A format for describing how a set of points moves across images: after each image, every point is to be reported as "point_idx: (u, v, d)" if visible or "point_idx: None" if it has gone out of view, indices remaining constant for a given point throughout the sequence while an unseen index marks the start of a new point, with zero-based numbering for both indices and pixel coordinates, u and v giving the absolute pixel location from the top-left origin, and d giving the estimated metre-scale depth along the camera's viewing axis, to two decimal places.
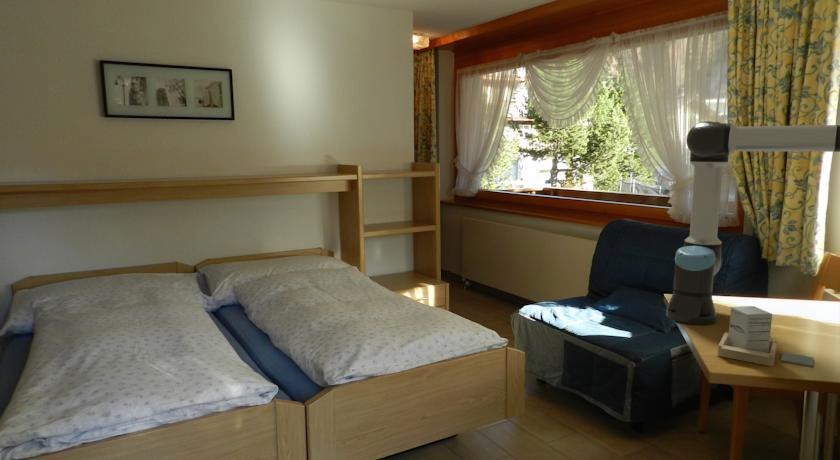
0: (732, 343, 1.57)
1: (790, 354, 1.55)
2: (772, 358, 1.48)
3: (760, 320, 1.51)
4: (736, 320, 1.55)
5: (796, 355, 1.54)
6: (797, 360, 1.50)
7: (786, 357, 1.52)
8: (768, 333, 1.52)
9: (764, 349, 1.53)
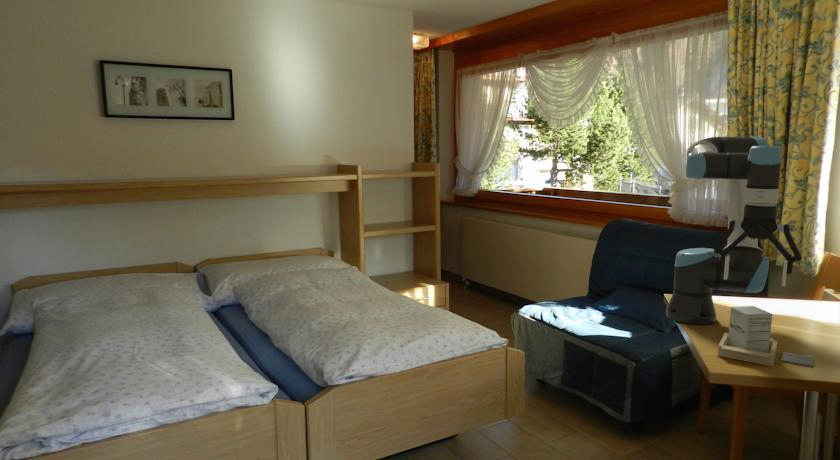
0: (732, 343, 1.57)
1: (790, 354, 1.55)
2: (772, 358, 1.48)
3: (760, 320, 1.51)
4: (736, 320, 1.55)
5: (796, 355, 1.54)
6: (797, 360, 1.50)
7: (786, 357, 1.52)
8: (768, 333, 1.52)
9: (764, 349, 1.53)
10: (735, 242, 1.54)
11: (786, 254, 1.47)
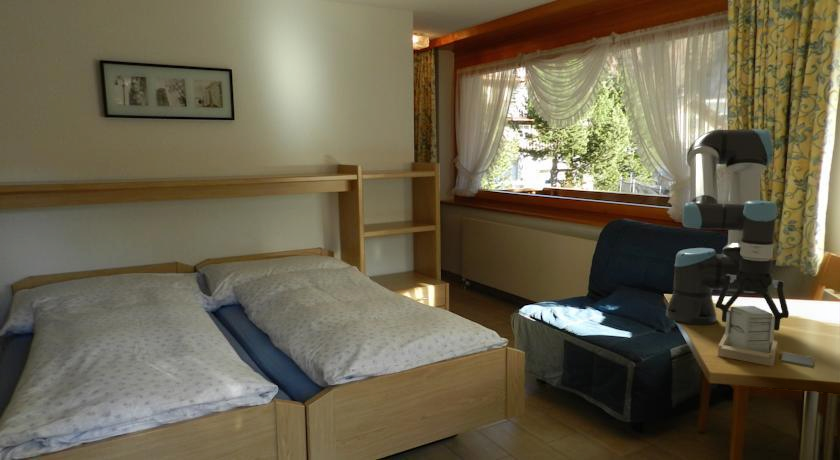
0: (732, 343, 1.57)
1: (790, 354, 1.55)
2: (772, 358, 1.48)
3: (760, 319, 1.51)
4: (736, 320, 1.55)
5: (796, 355, 1.54)
6: (797, 360, 1.50)
7: (786, 357, 1.52)
8: (768, 333, 1.52)
9: (764, 349, 1.53)
10: (734, 297, 1.56)
11: (775, 311, 1.51)
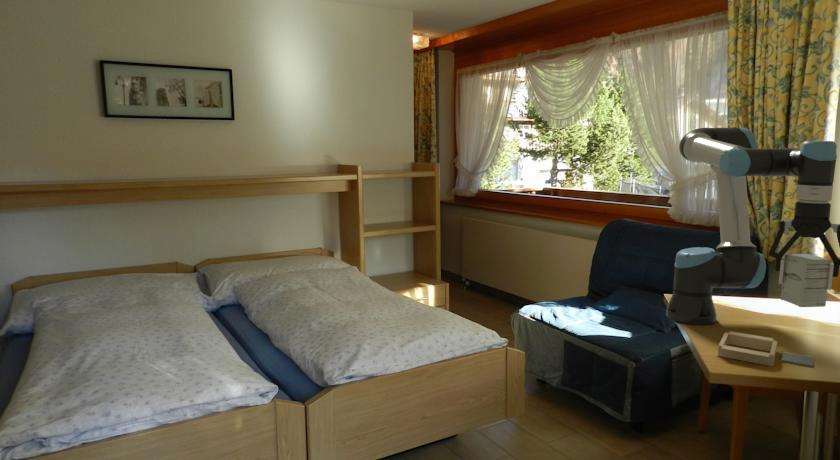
0: (787, 292, 1.50)
1: (790, 354, 1.55)
2: (772, 358, 1.48)
3: (818, 266, 1.44)
4: (792, 267, 1.48)
5: (796, 355, 1.54)
6: (797, 360, 1.50)
7: (786, 357, 1.52)
8: (826, 280, 1.45)
9: (821, 297, 1.46)
10: (789, 243, 1.48)
11: (834, 256, 1.43)
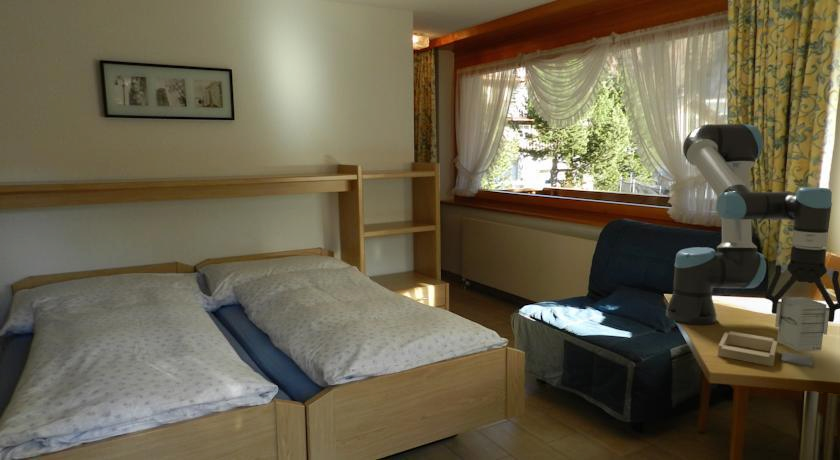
0: (783, 335, 1.52)
1: (790, 354, 1.55)
2: (772, 358, 1.48)
3: (814, 311, 1.46)
4: (788, 311, 1.50)
5: (796, 355, 1.54)
6: (797, 360, 1.50)
7: (786, 357, 1.52)
8: (822, 325, 1.47)
9: (817, 342, 1.47)
10: (785, 287, 1.50)
11: (829, 302, 1.45)
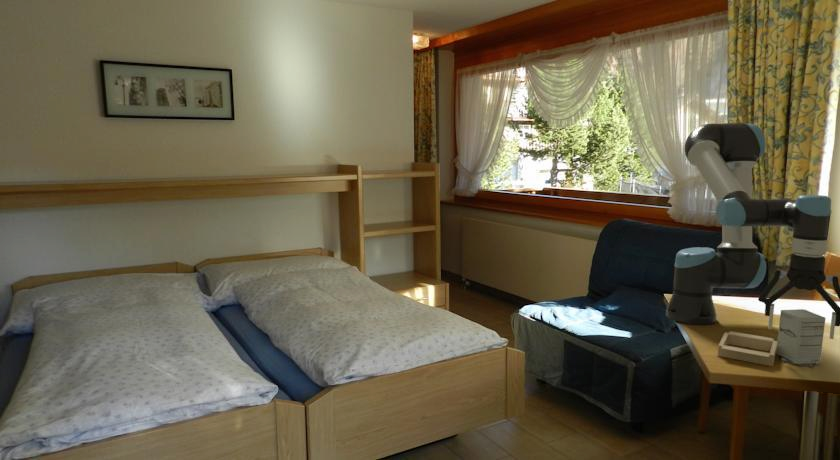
0: (782, 347, 1.52)
1: None
2: (772, 358, 1.48)
3: (813, 323, 1.46)
4: (787, 324, 1.50)
5: None
6: None
7: None
8: (821, 337, 1.47)
9: (816, 354, 1.48)
10: (781, 292, 1.51)
11: (835, 306, 1.44)
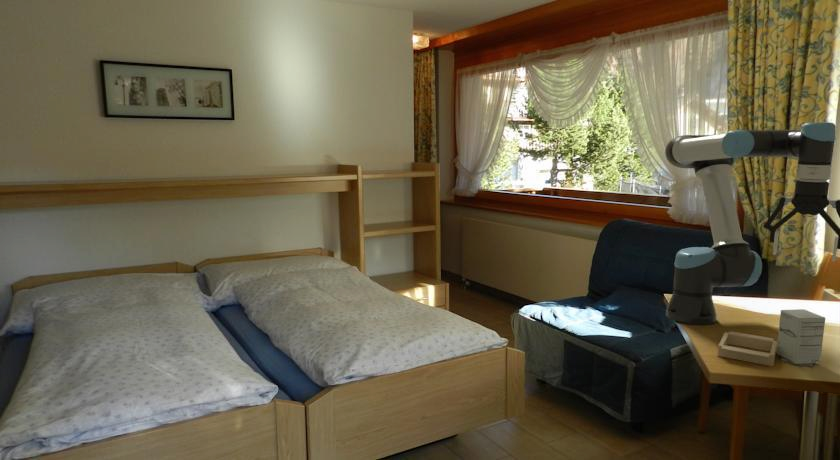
0: (782, 348, 1.52)
1: None
2: (772, 358, 1.48)
3: (813, 323, 1.46)
4: (787, 324, 1.50)
5: None
6: None
7: None
8: (821, 337, 1.47)
9: (816, 354, 1.48)
10: (785, 218, 1.56)
11: (837, 230, 1.50)
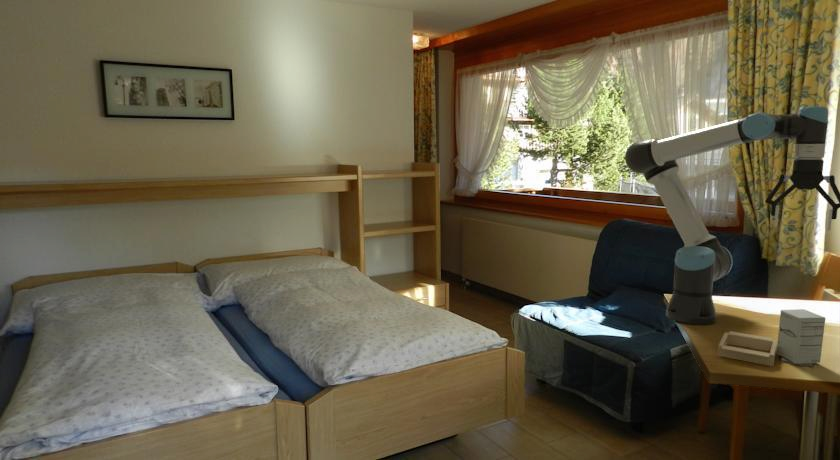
0: (782, 348, 1.52)
1: None
2: (772, 358, 1.48)
3: (813, 323, 1.46)
4: (787, 324, 1.50)
5: None
6: None
7: None
8: (821, 337, 1.47)
9: (816, 354, 1.48)
10: (785, 193, 1.74)
11: (831, 202, 1.68)
